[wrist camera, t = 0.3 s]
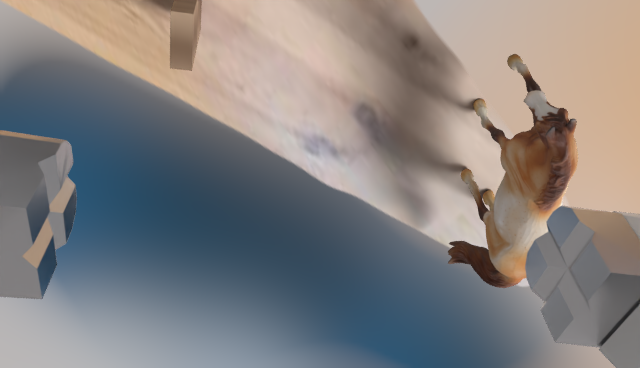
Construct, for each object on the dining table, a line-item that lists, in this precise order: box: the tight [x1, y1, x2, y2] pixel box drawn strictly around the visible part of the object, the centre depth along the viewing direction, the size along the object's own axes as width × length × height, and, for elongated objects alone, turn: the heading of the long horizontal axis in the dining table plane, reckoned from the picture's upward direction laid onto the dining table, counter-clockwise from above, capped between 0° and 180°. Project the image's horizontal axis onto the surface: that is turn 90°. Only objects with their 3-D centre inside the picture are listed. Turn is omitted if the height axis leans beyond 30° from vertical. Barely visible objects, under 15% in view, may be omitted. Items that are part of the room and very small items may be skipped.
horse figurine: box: [448, 54, 578, 288], centre depth 60 cm, size 31×8×21 cm, turn 1°
